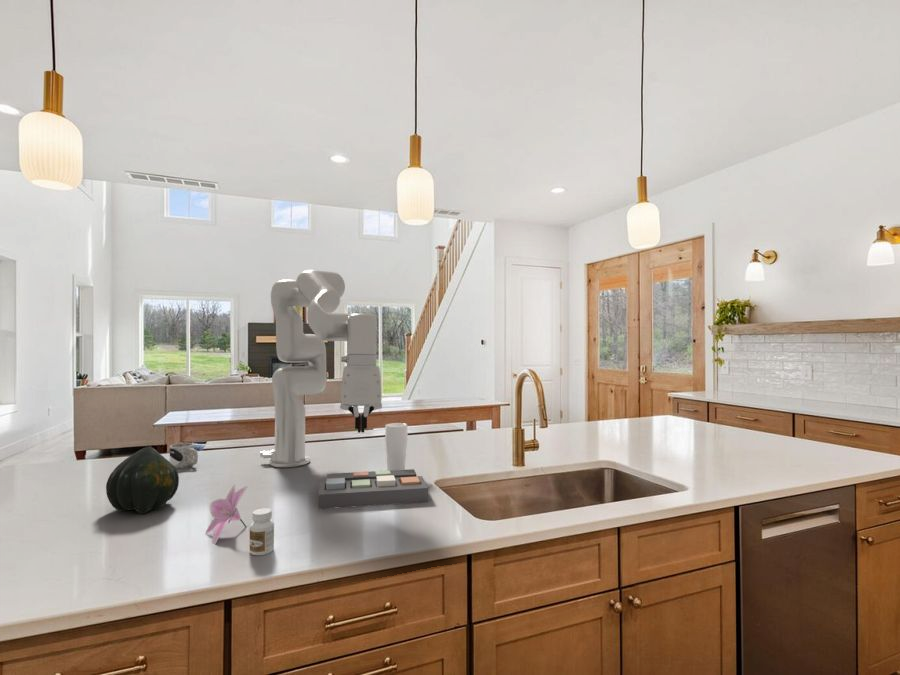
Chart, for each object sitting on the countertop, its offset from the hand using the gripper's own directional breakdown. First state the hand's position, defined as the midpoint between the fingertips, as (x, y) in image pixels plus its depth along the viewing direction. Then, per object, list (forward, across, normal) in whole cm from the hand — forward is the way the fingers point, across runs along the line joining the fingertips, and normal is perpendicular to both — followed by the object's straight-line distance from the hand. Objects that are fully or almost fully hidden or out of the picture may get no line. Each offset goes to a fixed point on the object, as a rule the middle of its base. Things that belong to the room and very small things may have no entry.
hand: (360, 431), depth 123 cm
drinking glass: (+17, +11, +20) cm, 28 cm away
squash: (+18, -52, +2) cm, 55 cm away
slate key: (+15, -6, -1) cm, 16 cm away
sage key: (+15, 0, -1) cm, 16 cm away
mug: (+18, -54, +40) cm, 69 cm away
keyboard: (+17, +3, +1) cm, 17 cm away
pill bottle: (+17, -20, -28) cm, 38 cm away
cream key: (+15, +7, -1) cm, 16 cm away
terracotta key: (+15, +13, 0) cm, 20 cm away
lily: (+17, -28, -17) cm, 38 cm away
